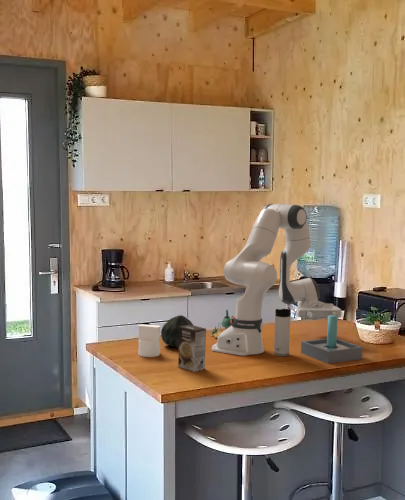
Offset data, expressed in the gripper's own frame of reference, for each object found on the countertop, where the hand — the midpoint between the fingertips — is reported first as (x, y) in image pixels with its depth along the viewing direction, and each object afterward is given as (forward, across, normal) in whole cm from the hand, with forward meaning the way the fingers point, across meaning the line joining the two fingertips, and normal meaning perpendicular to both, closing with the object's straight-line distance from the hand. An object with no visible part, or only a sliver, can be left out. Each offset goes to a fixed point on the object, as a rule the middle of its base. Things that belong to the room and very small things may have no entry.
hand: (323, 315), depth 280 cm
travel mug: (+10, -21, +15) cm, 28 cm away
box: (+13, 0, +15) cm, 20 cm away
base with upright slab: (+6, -76, +16) cm, 78 cm away
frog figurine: (-20, -40, +15) cm, 47 cm away
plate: (+13, 0, +15) cm, 20 cm away
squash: (-6, -63, +16) cm, 65 cm away
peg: (+13, 0, +14) cm, 19 cm away
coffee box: (+28, -61, +16) cm, 69 cm away
